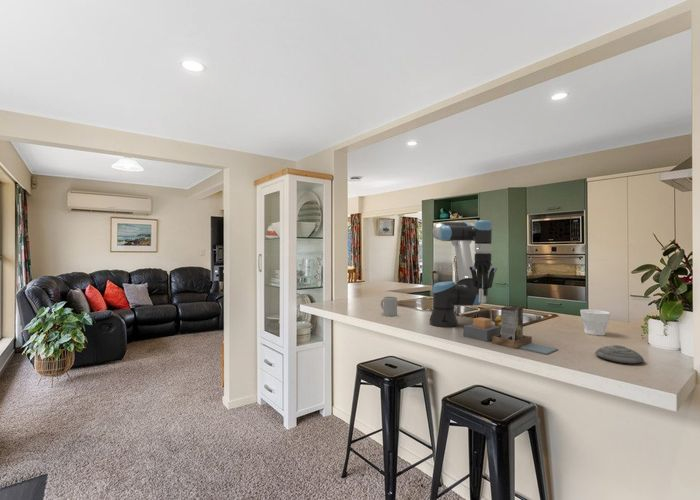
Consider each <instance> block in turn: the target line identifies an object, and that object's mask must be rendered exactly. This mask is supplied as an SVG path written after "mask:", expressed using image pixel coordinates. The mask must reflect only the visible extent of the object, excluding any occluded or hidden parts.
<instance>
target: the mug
mask: <svg viewBox="0 0 700 500" xmlns="http://www.w3.org/2000/svg"><path fill="white" fill-rule="evenodd" d="M380 308H381V310H382V313H383V316H385V317H397V316H398V297H396V296H384V297H383V298H382V299H381V301H380Z"/></svg>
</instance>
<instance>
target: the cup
mask: <svg viewBox="0 0 700 500" xmlns="http://www.w3.org/2000/svg"><path fill="white" fill-rule="evenodd" d="M579 312H580V318H581V320H582V322H583V323H582V324H583V330H584V333H585V334H586V335H591V336H605V335H606V331H607V327H608V324H609V322H610V317H611V312H610V311H606V310H601V309H593V308H591V309H590V308H589V309H586V308H585V309H584V308H583V309H580V310H579Z"/></svg>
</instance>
